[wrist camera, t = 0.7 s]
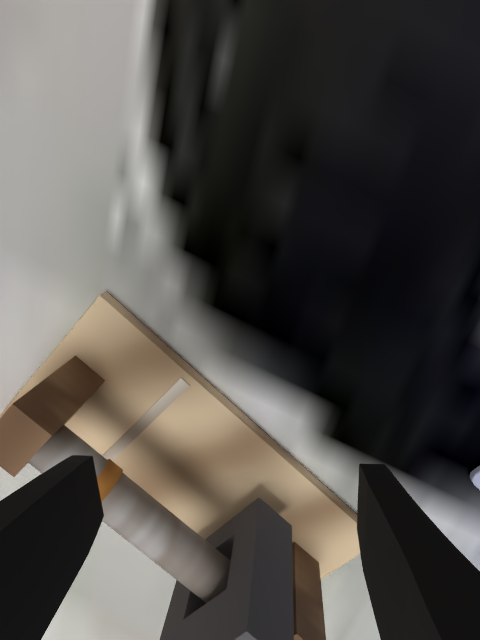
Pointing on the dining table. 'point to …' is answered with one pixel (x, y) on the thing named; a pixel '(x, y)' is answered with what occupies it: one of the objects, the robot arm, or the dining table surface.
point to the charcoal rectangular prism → (242, 584)
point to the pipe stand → (172, 457)
